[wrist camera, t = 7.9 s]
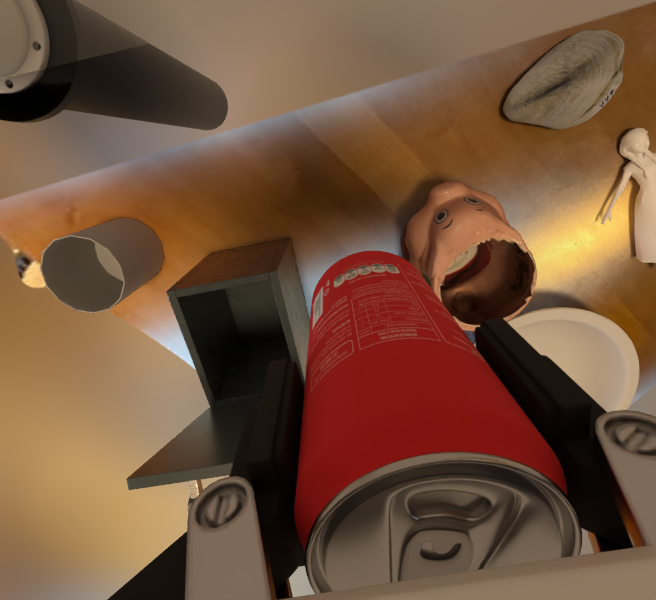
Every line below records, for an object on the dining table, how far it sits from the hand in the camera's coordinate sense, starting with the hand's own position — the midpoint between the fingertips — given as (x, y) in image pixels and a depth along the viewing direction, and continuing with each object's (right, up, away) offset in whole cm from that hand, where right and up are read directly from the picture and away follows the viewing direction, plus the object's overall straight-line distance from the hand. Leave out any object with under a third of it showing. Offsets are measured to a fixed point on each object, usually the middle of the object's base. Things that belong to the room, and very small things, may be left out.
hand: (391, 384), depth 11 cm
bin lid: (-10, -8, +21) cm, 24 cm away
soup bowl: (+25, -7, +43) cm, 50 cm away
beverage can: (0, +3, +7) cm, 7 cm away
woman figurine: (+36, +15, +34) cm, 52 cm away
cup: (-27, +9, +37) cm, 46 cm away
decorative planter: (+13, +9, +37) cm, 40 cm away
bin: (-10, +3, +39) cm, 40 cm away
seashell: (+23, +25, +30) cm, 45 cm away
